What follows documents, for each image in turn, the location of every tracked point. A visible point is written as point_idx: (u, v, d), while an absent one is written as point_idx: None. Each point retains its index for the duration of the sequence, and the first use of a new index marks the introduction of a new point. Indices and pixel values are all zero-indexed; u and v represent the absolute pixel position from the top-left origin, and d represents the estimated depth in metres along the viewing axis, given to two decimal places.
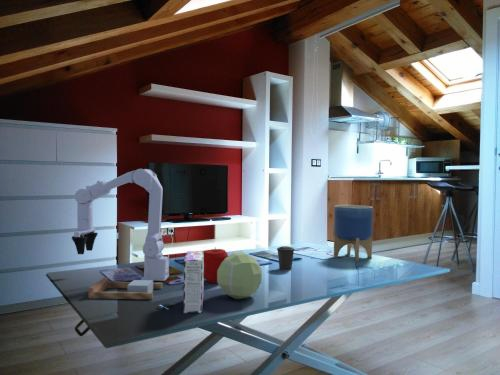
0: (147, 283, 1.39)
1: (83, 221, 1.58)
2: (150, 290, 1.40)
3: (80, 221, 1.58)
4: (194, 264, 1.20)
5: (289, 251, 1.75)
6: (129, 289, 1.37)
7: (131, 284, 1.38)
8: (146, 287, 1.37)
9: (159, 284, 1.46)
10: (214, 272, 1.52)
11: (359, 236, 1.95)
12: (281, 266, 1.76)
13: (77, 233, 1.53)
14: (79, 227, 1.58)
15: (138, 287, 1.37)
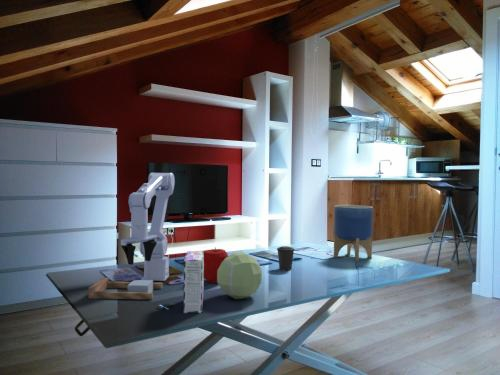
0: (147, 283, 1.39)
1: (134, 228, 1.42)
2: (150, 290, 1.40)
3: (132, 228, 1.43)
4: (194, 264, 1.20)
5: (289, 251, 1.75)
6: (129, 289, 1.37)
7: (131, 284, 1.38)
8: (146, 287, 1.37)
9: (159, 284, 1.46)
10: (214, 272, 1.52)
11: (359, 236, 1.95)
12: (281, 266, 1.76)
13: (123, 241, 1.39)
14: (131, 234, 1.44)
15: (138, 287, 1.37)
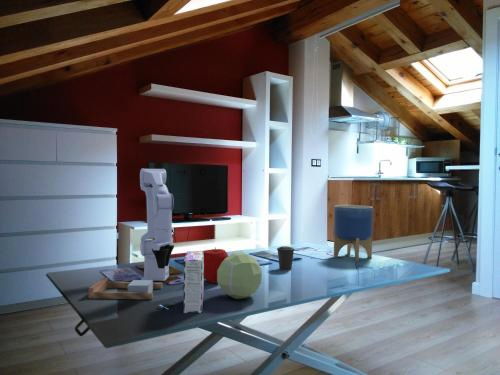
0: (147, 283, 1.39)
1: (162, 231, 1.37)
2: (150, 290, 1.40)
3: (158, 231, 1.37)
4: (194, 264, 1.20)
5: (289, 251, 1.75)
6: (129, 289, 1.37)
7: (131, 284, 1.38)
8: (147, 287, 1.37)
9: (159, 284, 1.46)
10: (214, 272, 1.52)
11: (359, 236, 1.95)
12: (281, 266, 1.76)
13: (156, 246, 1.32)
14: (157, 238, 1.37)
15: (138, 287, 1.37)
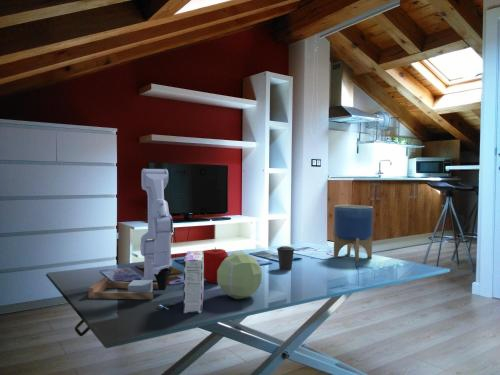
0: (147, 283, 1.40)
1: (161, 255, 1.37)
2: (150, 290, 1.40)
3: (158, 255, 1.37)
4: (194, 265, 1.20)
5: (289, 251, 1.75)
6: (130, 289, 1.37)
7: (131, 284, 1.38)
8: (147, 287, 1.37)
9: None
10: (214, 272, 1.52)
11: (359, 236, 1.95)
12: (281, 266, 1.76)
13: (155, 270, 1.33)
14: (156, 261, 1.37)
15: (138, 287, 1.37)
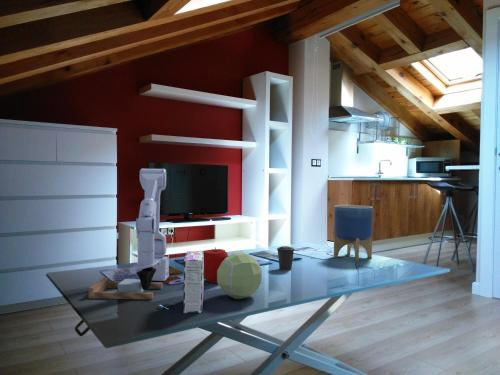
0: (137, 282, 1.40)
1: (142, 254, 1.37)
2: (141, 289, 1.41)
3: (139, 254, 1.38)
4: (194, 265, 1.20)
5: (289, 251, 1.75)
6: (119, 288, 1.38)
7: (121, 283, 1.39)
8: (136, 286, 1.37)
9: (159, 284, 1.46)
10: (214, 272, 1.52)
11: (359, 236, 1.95)
12: (281, 266, 1.76)
13: (133, 269, 1.33)
14: (138, 261, 1.38)
15: (128, 286, 1.37)
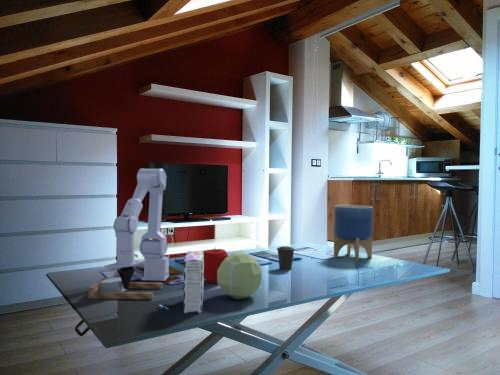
0: (119, 281, 1.41)
1: (119, 253, 1.38)
2: (123, 288, 1.41)
3: (117, 253, 1.38)
4: (194, 264, 1.20)
5: (289, 251, 1.75)
6: (101, 286, 1.39)
7: (104, 281, 1.40)
8: (116, 284, 1.38)
9: (159, 284, 1.46)
10: (214, 272, 1.52)
11: (359, 236, 1.95)
12: (281, 266, 1.76)
13: (106, 267, 1.35)
14: (117, 260, 1.39)
15: (109, 284, 1.39)
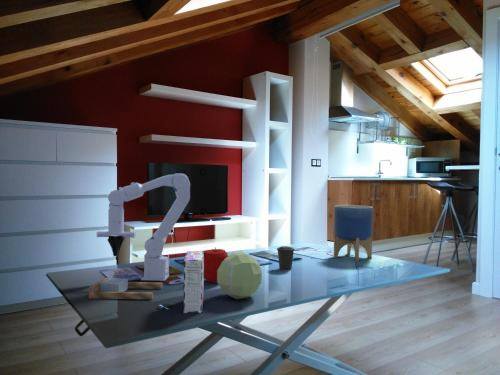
0: (120, 281, 1.41)
1: None
2: (123, 288, 1.42)
3: None
4: (194, 264, 1.20)
5: (289, 251, 1.75)
6: (101, 287, 1.39)
7: (104, 282, 1.40)
8: (117, 285, 1.38)
9: (159, 284, 1.46)
10: (214, 272, 1.52)
11: (359, 236, 1.95)
12: (281, 266, 1.76)
13: None
14: None
15: (109, 285, 1.39)
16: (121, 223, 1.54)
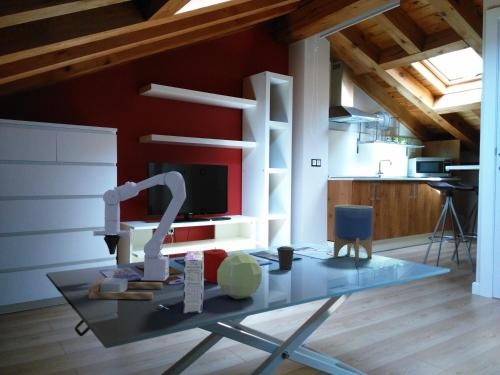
0: (120, 281, 1.41)
1: None
2: (123, 288, 1.42)
3: None
4: (194, 264, 1.20)
5: (289, 251, 1.75)
6: (102, 287, 1.39)
7: (104, 282, 1.40)
8: (118, 285, 1.38)
9: (159, 284, 1.46)
10: (214, 272, 1.52)
11: (359, 236, 1.95)
12: (281, 266, 1.76)
13: None
14: None
15: (110, 285, 1.39)
16: (117, 222, 1.57)
